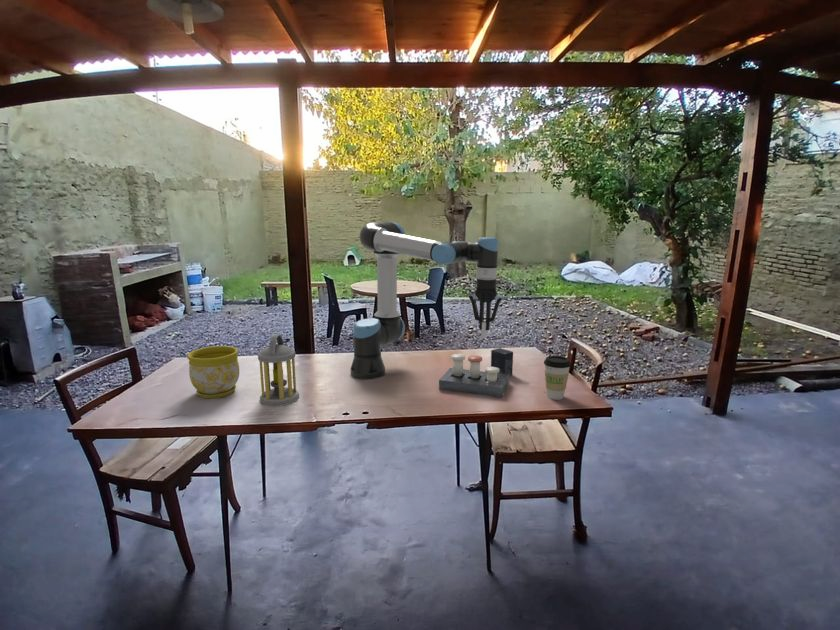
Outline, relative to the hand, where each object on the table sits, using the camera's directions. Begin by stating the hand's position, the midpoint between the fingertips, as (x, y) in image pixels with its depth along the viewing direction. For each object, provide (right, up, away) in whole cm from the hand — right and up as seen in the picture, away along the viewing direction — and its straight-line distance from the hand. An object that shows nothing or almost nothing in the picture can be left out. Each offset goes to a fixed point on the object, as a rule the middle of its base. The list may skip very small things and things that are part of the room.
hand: (483, 337), depth 186 cm
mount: (-3, -20, +5) cm, 21 cm away
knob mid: (-3, -16, +4) cm, 17 cm away
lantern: (-78, -23, -7) cm, 82 cm away
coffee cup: (+27, -22, -5) cm, 35 cm away
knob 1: (-10, -15, +7) cm, 19 cm away
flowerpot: (-105, -21, -1) cm, 107 cm away
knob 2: (+3, -20, +3) cm, 21 cm away
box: (+10, -17, +20) cm, 28 cm away
